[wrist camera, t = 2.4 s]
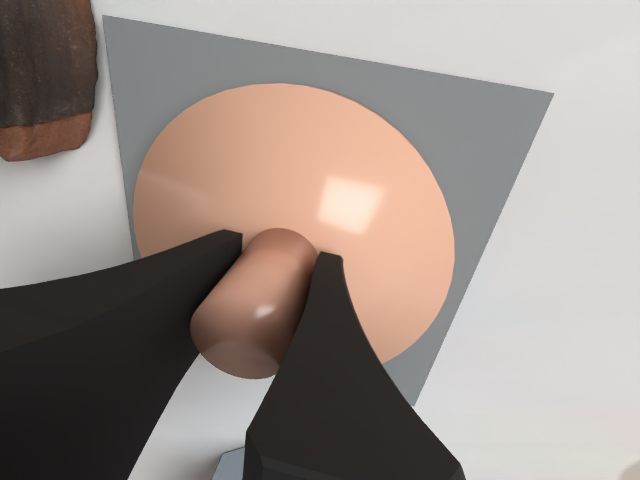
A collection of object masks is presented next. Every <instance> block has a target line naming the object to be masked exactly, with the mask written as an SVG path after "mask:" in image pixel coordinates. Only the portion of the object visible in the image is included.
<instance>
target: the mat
mask: <svg viewBox="0 0 640 480" xmlns="http://www.w3.org/2000/svg"><path fill="white" fill-rule="evenodd" d="M102 17H103V25H104V33H105V40H106V48H107V56H108V63H109V71H110V79H111V86H112V94H113V102H114V109H115V117H116V125H117V132H118V140H119V148H120V155H121V163H122V171H123V178H124V186H125V194H126V201H127V209H128V217H129V224H130V232H131V240H132V247H133V255H134V261H135V260H138V259H141V255H140V252H139V249H138V246H137V241H136V235H135V230H134V220H133V202H134V191H135V186H136V182H137V177H138V173H139V171H140V168H141V165H142V163H143V160H144V158H145V155H146V154H147V152H148V150H149V149H150V147H151V145H152V144H153V142H154V140H155V139H156V138H157V136H158V135H159V134H160V133H161V132H162V131H163V129H164V128H165V127H166V126H167V125H168V124H169V123H170V122H171V121H172V120H173V119H174V118H176V117H177V116H178V115H179V114H180V113H182V112H183V111H184V110H185V109H187V108H189V107H190V106H192V105H194V104H196V103H197V102H199V101H201V100H202V99H204V98H207V97H209V96H212V95H214V94H217V93H220V92H222V91H225V90H229V89H233V88H238V87H243V86H248V85H255V84H267V83H293V84H303V85H311V86H315V87H319V88H323V89H327V90H331V91H334V92H337V93H339V94H342V95H344V96H346V97H349V98H351V99H354V100H356V101H358V102H360V103H362V104H363V105H365V106H367V107H368V108H370V109H372V110H374V111H375V112H377V113H379V114H380V115H381V116H383V117H384V118H385V119H386V120H388V121H389V122H390V123H391V124H393V125H394V126H395V127H396V128H398V129H399V130H400V131H401V132H402V133H403V134H404V135H405V137H406V138H407V139H408V140H409V141H410V142H411V143H412V144H413V145H414V146H415V147H416V149H417V150H418V151H419V153H420V154H421V156H422V157H423V158H424V160H425V161H426V163H427V164H428V165H429V167H430V169H431V171H432V173H433V175H434V177H435V179H436V181H437V183H438V185H439V187H440V189H441V191H442V194H443V196H444V199H445V202H446V205H447V208H448V211H449V214H450V217H451V223H452V229H453V234H454V255H455V261H454V267H453V274H452V280H451V284H450V287H449V290H448V293H447V296H446V299H445V301H444V303H443V305H442V307H441V309H440V311H439V313H438V315H437V316H436V318H435V319H434V321H433V322H432V323H431V325H430V326H429V328H428V329H427V330H426V331H425V332H424V333H423V334H422V335H421V336H420V338H419V339H418V340H417V341H416V342H415V343H413V344H412V345H411V346H410V347H408V348H407V349H406V350H405V351H403V352H402V353H401V354H399V355H397V356H395V357H394V358H392V359H390V360H389V361H387V362H385V363H383V364H382V365H383V367H384V368H385V370H386V371H387V373H388V374H389V376H390V377H391V379H392V380H393V382H394V383H395V385H396V386H397V388H398V389H399V391H400V392H401V394H402V395H403V397H404V398H405V399H406V401H407V402H408V403H409V404H410V406H415V403H416V401H417V399H418V397H419V395H420V392H421V390H422V388H423V386H424V383H425V381H426V379H427V377H428V374H429V372H430V370H431V368H432V366H433V363H434V361H435V359H436V357H437V354H438V352H439V350H440V348H441V345H442V343H443V341H444V339H445V337H446V334H447V332H448V330H449V328H450V325H451V323H452V321H453V319H454V316H455V314H456V312H457V310H458V307H459V305H460V303H461V301H462V299H463V296H464V294H465V292H466V290H467V287H468V285H469V283H470V281H471V278H472V276H473V274H474V272H475V270H476V267H477V265H478V263H479V261H480V258H481V256H482V254H483V252H484V249H485V247H486V245H487V243H488V241H489V238H490V236H491V234H492V232H493V229H494V227H495V225H496V223H497V220H498V218H499V216H500V214H501V212H502V209H503V207H504V205H505V203H506V200H507V198H508V196H509V194H510V191H511V189H512V187H513V185H514V183H515V180H516V178H517V176H518V174H519V171H520V169H521V167H522V165H523V162H524V160H525V158H526V156H527V154H528V151H529V149H530V147H531V145H532V142H533V140H534V138H535V136H536V133H537V131H538V129H539V127H540V125H541V122H542V120H543V118H544V116H545V113H546V111H547V109H548V107H549V104H550V102H551V100H552V98H553V95H554V93H550V92H544V91H538V90H533V89H527V88H521V87H515V86H510V85H504V84H498V83H492V82H486V81H481V80H475V79H469V78H463V77H458V76H452V75H446V74H440V73H435V72H429V71H423V70H417V69H412V68H406V67H400V66H394V65H388V64H383V63H377V62H371V61H365V60H360V59H354V58H348V57H342V56H337V55H331V54H325V53H319V52H314V51H308V50H302V49H296V48H290V47H285V46H279V45H273V44H267V43H262V42H256V41H250V40H244V39H239V38H233V37H227V36H221V35H216V34H210V33H204V32H198V31H192V30H187V29H181V28H175V27H169V26H164V25H158V24H152V23H146V22H141V21H135V20H129V19H123V18H118V17H112V16H106V15H102Z"/></svg>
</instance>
